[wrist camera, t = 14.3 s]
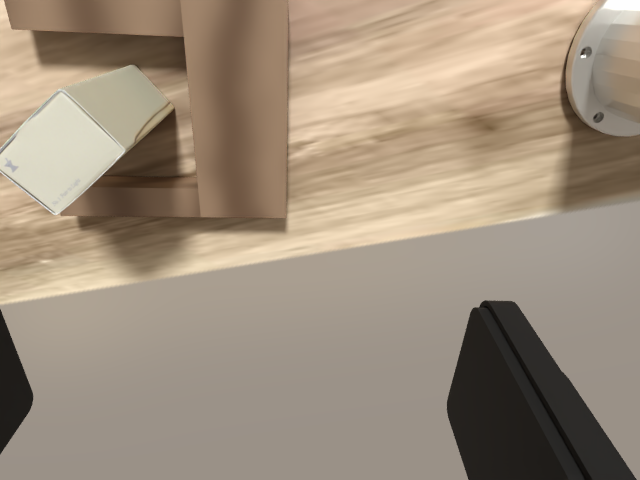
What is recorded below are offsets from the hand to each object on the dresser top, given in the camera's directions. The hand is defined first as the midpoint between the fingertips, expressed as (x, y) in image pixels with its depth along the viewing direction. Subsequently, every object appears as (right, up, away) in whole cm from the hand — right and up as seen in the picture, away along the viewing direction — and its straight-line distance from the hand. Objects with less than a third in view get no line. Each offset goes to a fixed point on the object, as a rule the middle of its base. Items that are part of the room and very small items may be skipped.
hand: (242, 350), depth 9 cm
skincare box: (-13, +12, +25) cm, 31 cm away
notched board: (-10, +12, +25) cm, 30 cm away
